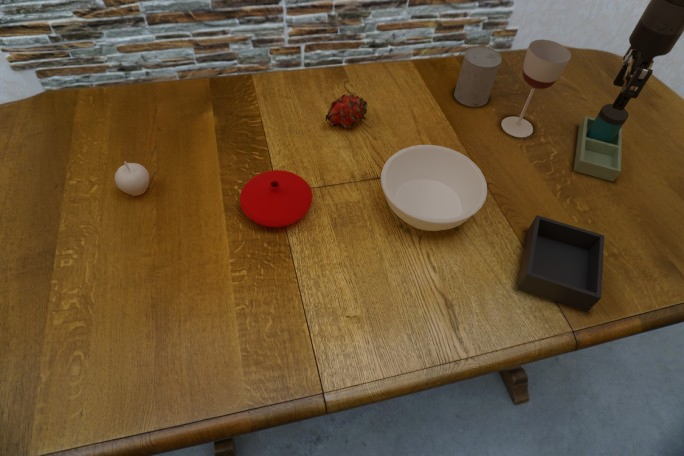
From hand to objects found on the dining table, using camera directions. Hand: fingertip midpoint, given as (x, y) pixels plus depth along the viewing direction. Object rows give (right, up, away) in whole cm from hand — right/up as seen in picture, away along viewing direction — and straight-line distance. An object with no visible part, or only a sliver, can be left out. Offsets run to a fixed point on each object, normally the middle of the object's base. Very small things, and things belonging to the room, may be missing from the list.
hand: (617, 96), depth 96 cm
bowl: (-38, -23, +8) cm, 45 cm away
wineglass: (-11, -1, +25) cm, 28 cm away
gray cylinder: (-21, +9, +33) cm, 40 cm away
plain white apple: (-104, -19, +8) cm, 106 cm away
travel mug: (+8, -5, +22) cm, 24 cm away
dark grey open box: (-14, -36, -1) cm, 39 cm away
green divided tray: (+7, -8, +20) cm, 23 cm away
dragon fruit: (-57, 0, +24) cm, 61 cm away
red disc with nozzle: (-72, -23, +6) cm, 76 cm away
